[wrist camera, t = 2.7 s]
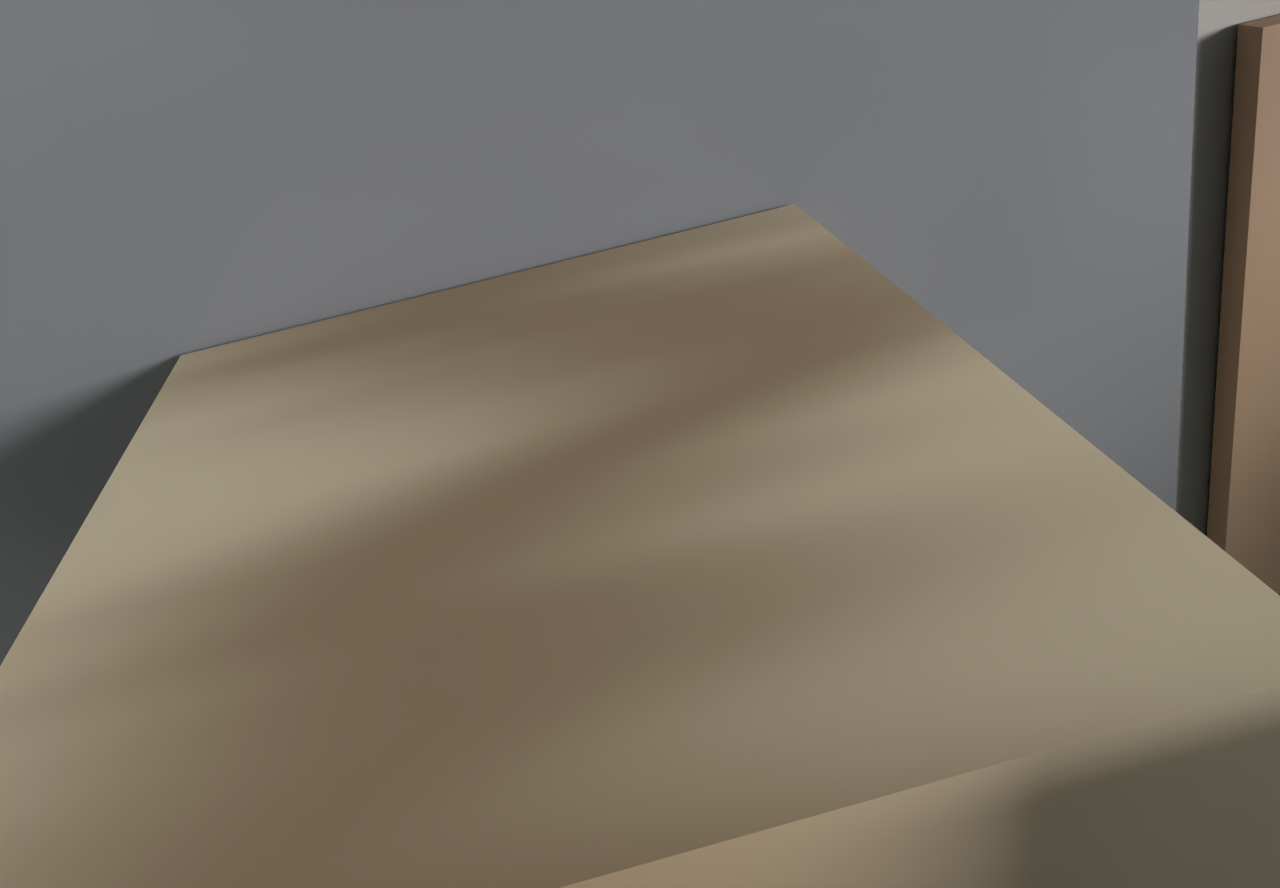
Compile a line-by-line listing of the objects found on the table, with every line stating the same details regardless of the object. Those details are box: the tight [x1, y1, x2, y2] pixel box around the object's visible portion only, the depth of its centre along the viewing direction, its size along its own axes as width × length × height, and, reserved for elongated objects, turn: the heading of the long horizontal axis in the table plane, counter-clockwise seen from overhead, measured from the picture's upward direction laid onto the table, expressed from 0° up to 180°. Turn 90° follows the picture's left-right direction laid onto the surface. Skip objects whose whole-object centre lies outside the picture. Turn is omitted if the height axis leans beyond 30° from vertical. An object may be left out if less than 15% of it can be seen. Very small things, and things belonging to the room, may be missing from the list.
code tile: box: [0, 0, 1199, 666], centre depth 10 cm, size 12×12×1 cm
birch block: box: [0, 204, 1280, 888], centre depth 7 cm, size 5×5×6 cm
